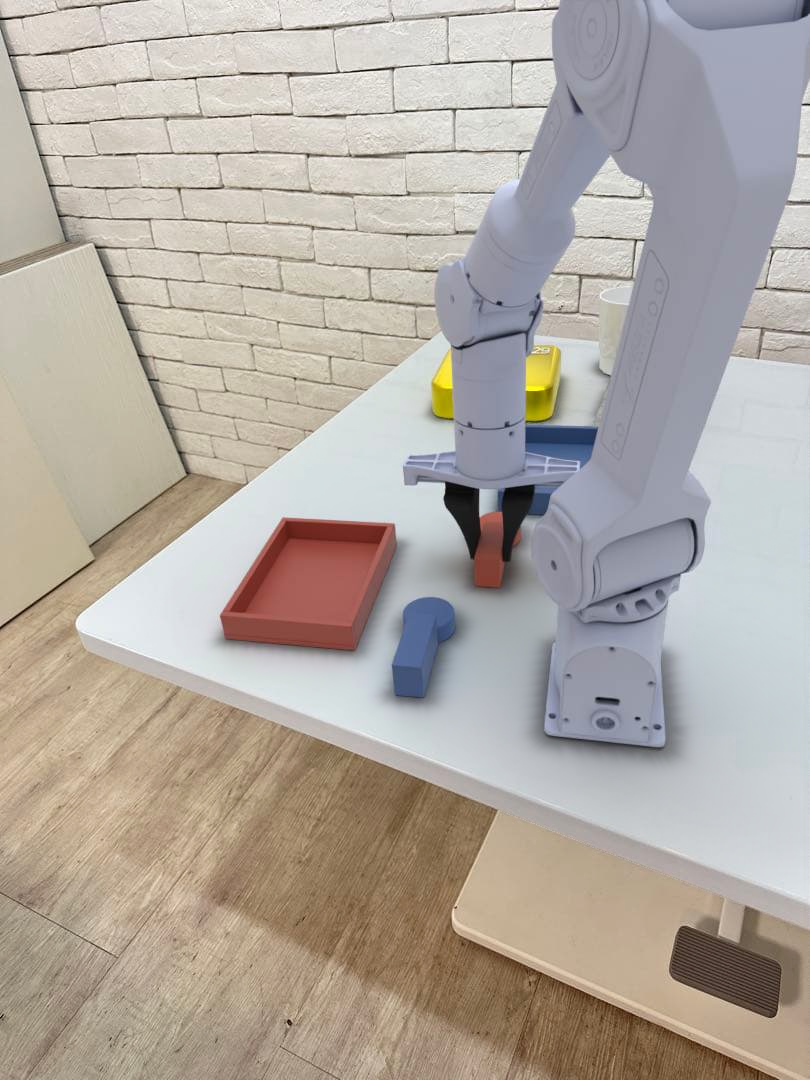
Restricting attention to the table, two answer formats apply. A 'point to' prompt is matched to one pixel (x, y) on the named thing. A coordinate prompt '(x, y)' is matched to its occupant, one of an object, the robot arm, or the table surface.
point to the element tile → (539, 384)
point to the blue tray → (555, 453)
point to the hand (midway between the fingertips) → (491, 554)
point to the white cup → (612, 323)
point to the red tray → (312, 584)
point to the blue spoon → (420, 643)
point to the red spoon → (490, 551)
